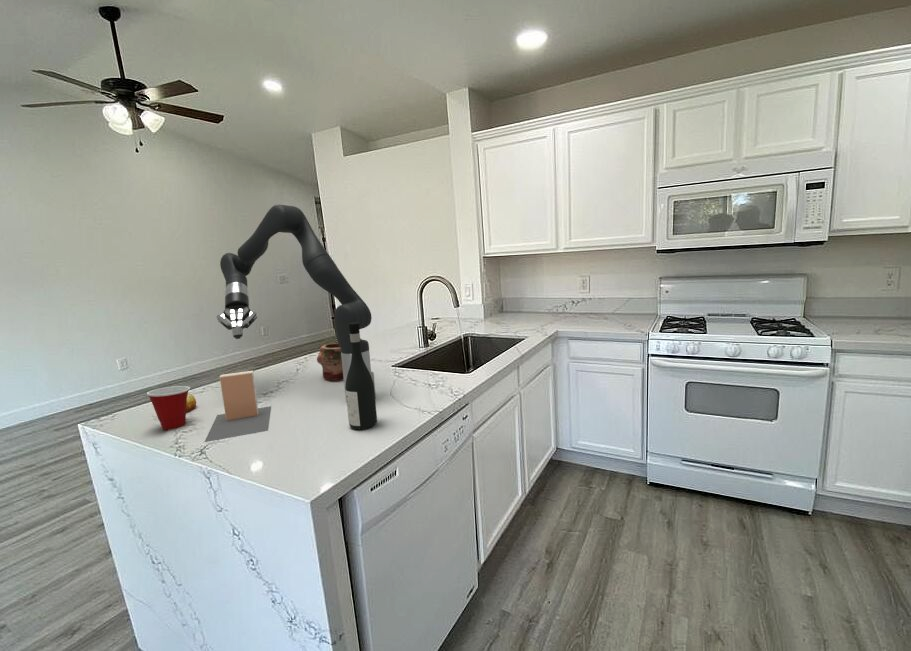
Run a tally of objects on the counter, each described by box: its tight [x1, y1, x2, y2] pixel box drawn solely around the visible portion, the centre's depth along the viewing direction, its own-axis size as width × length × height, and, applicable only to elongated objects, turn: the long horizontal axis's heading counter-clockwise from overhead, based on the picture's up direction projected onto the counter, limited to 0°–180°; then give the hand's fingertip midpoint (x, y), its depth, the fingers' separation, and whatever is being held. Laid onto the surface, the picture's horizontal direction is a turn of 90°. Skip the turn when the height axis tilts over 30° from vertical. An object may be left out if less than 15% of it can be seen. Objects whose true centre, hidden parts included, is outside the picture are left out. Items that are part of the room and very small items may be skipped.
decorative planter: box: [316, 342, 344, 383], centre depth 170 cm, size 20×12×14 cm, turn 71°
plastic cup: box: [146, 385, 191, 432], centre depth 128 cm, size 11×11×12 cm
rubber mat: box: [204, 405, 272, 443], centre depth 128 cm, size 22×16×1 cm
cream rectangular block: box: [219, 370, 259, 421], centre depth 132 cm, size 3×9×14 cm, turn 111°
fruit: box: [186, 392, 197, 414], centre depth 141 cm, size 11×10×8 cm
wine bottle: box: [344, 322, 378, 431], centre depth 120 cm, size 8×8×30 cm
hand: (237, 337), depth 142 cm, fingers closed
